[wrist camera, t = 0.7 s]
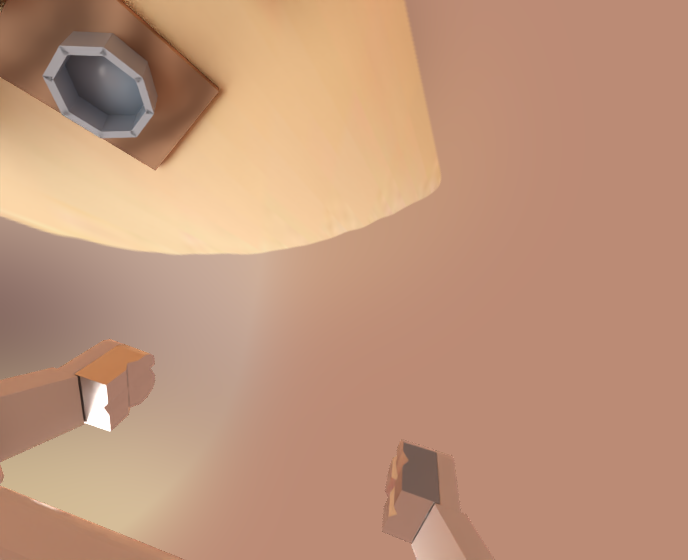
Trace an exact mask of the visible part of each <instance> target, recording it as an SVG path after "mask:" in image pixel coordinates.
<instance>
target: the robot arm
mask: <svg viewBox="0 0 688 560" xmlns="http://www.w3.org/2000/svg"><path fill="white" fill-rule="evenodd" d="M154 364H155V361H154V356H153V355H151V354H149V353H147V352H144V351H141V350H139V349H136V348H133V347H130V346H128V345H125V344H122V343H119V342H116V341H113V340H111V339H108V340H103V341H102V342H100V343H98V344H97V345H95V346H93V347H92V348H90V349H89V350H87V351H85V352H84V353H82V354H81V355H79V356H77V357H76V358H74V359H72V360H71V361H69V362H68V363H66V364H64V365H63V366H61V367H59V368H58V369H56V368H48V369H44V370H40V371H36V372H31V373H27V374H23V375H19V376H15V377H10V378H6V379H2V380H0V462H2V461H4V460H6V459H8V458H11V457H13V456H15V455H17V454H19V453H22V452H24V451H26V450H28V449H31V448H33V447H35V446H37V445H40V444H42V443H44V442H46V441H48V440H50V439H53V438H55V437H57V436H59V435H62V434H64V433H66V432H68V431H71V430H73V429H75V428H77V427H79V426H81V425H84V423H87V424H90V425H93V426H96V427H99V428H102V429H105V430H108V431H112V430H113V429H114V428H115V427H116V426H117V425H118V424H119V423H120V422H121V421H122V420H124V419H125V418H126V417H127V416H128V415H129V410H130V407H133V406H136V405H139V404H141V403H142V402H143V401H144V400H145V399H146V398H147V397H148V395H149V394H150V392H151V390H152V389H153V386H154V382H155V375H154V373H153V371H152V370H151V367H152V366H153V365H154ZM3 478H4V475H3V472H2V468H1V465H0V483H1V482H2V481H3ZM385 492H386V494H387V496H388V499H387V501H386V503H385V506H384V512H383V524H382V532H384V533H387V534H389V535H392V536H394V537H396V538H399V539H402V540H404V541H407V542H409V543H411V544H412V548H413V551H414V554H415V556H416V559H417V560H495V559H494V557H493V556H492V554H491V553H490V551H489V549H488V548H487V546H486V545H485V543H484V541H483V540H482V538H481V537H480V535H479V534H478V532H477V530H476V529H475V527H474V526H473V524H472V523H471V521H470V519H469V518H468V516H467V515H466V514H464V513H461V509H460V501H459V493H458V485H457V478H456V470H455V463H454V458H453V456H452V455H449V454H445V453H443V452H440V451H436V450H434V449H430V448H428V447H425V446H421V445H419V444H416V443H412V442H409V441H406V440H403V439H402V440H401V441H400V443H399V445H398V447H397V456H395V457H393V459H392V461H391V464H390V467H389V471H388V475H387V481H386V489H385ZM0 560H185V559H182V558H180V557H177V556H175V555H172V554H170V553H167V552H165V551H162V550H160V549H157V548H155V547H152V546H150V545H147V544H145V543H142V542H140V541H137V540H135V539H132V538H130V537H127V536H125V535H122V534H119V533H117V532H115V531H112V530H110V529H107V528H105V527H102V526H100V525H97V524H95V523H92V522H90V521H87V520H85V519H82V518H80V517H77V516H75V515H72V514H70V513H67V512H65V511H62V510H60V509H57V508H55V507H52V506H50V505H47V504H45V503H42V502H40V501H37V500H35V499H32V498H30V497H27V496H25V495H22V494H20V493H17V492H15V491H12V490H10V489H7V488H5V487H2V486H0Z"/></svg>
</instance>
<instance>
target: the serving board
mask: <svg viewBox="0 0 688 560" xmlns="http://www.w3.org/2000/svg"><path fill="white" fill-rule="evenodd" d="M73 31H78V32H99V33H113V34H115V35H116V36H117V37H118V38H119V39H121V40H122V41H123V42H124V43H126V44H127V45H128V46H129V47H130V48H132V49H133V50H134V51H135V52H136V53H138V54H139V55H140V56H141V57H143V58H144V59H145V60H146V61H147V62H148V65H149V68H150V71H151V75H152V78H153V82H154V85H155V89H156V92H157V95H158V97H157V102H156V107H155V111H154V115H153V116H152V117H151V119H150V120H149V121H148V123H147V124H146V125H145V127H144V128H143V129H142V131H141V132H140V133H139V135H138V136H137V137H127V138H103V139H104V140H106V141H108V142H109V143H111V144H112V145H114V146H116V147H117V148H119V149H121V150H122V151H124V152H126V153H127V154H129V155H131V156H132V157H134V158H136V159H137V160H139V161H141V162H142V163H144V164H146V165H147V166H149V167H150V168H152V169H154V170H155V171H156V169H157V168H158V167H159V166H160V164H161V163H162V162H163V161H164V159H165V158H166V157H167V156H168V154H169V153H170V152H171V151H172V149H173V148H174V147H175V146H176V144H177V143H178V142H179V141H180V139H181V138H182V137H183V136H184V134H185V133H186V132H187V131H188V129H189V128H190V127H191V126H192V124H193V123H194V122H195V121H196V119H197V118H198V117H199V116H200V115H201V113H202V112H203V111H204V110H205V108H206V107H207V106H208V105H209V103H210V102H211V101H212V100H213V98H214V97H215V96H216V95H217V93H218V92H219V89H218V87H217V86H216V85H215V84H214V83H212V82H211V81H210V80H209V79H208V78H207V77H206V76H205V75H204V74H202V73H201V72H200V71H199V70H198V69H197V68H196V67H195V66H194V65H192V64H191V63H190V62H189V61H188V60H187V59H186V58H185V57H184V56H182V55H181V54H180V53H179V52H178V51H177V50H176V49H175V48H174V47H172V46H171V45H170V44H169V43H168V42H167V41H166V40H165V39H164V38H162V37H161V36H160V35H159V34H158V33H157V32H156V31H155V30H154V29H152V28H151V27H150V26H149V25H148V24H147V23H146V22H145V21H144V20H143V19H141V18H140V17H139V16H138V15H137V14H136V13H135V12H134V11H133V10H131V9H130V8H129V7H128V6H127V5H126V4H125V3H124V2H123V1H121V0H7V1H6V3H5V5H4V7H3V9H2V11H1V14H0V77H2V78H3V79H5V80H7V81H8V82H10V83H12V84H13V85H15V86H17V87H18V88H20V89H22V90H23V91H25V92H27V93H28V94H30V95H31V96H33V97H35V98H36V99H38V100H40V101H41V102H43V103H45V104H46V105H48V106H50V107H51V108H53V109H55V110H56V111H58V112H60V110H59V108H58V106H57V104H56V102H55V100H54V98H53V96H52V94H51V92H50V90H49V88H48V86H47V84H46V82H45V80H44V78H43V74H44V72H45V71H46V69H47V67H48V65H49V63H50V62H51V60H52V58H53V56H54V54H55V53H56V51H57V49H58V47H59V45H60V44H61V43H62V42H63V41H64V40H65V39H66V38H67V37H68V36H69V35H70V34H71V33H72V32H73ZM60 113H61V112H60Z"/></svg>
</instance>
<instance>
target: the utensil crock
mask: <svg viewBox="0 0 688 560" xmlns="http://www.w3.org/2000/svg"><path fill="white" fill-rule="evenodd" d="M43 78H44V80H45V82H46V84H47V86H48V88H49V90H50V92H51V94H52V96H53V98H54V100H55V102H56V104H57V106H58V108H59V110H60V112H61V114H62V115H63V116H65V117H67V118H68V119H70V120H72V121H73V122H75V123H76V124H78V125H80V126H81V127H83V128H85V129H86V130H88V131H90V132H91V133H93V134H95V135H96V136H98V137H100V138H127V137H137V136H138V135H139V133H140V132H141V131H142V129H143V128H144V127H145V125H146V124H147V123H148V121H149V120H150V119H151V117H152V116H153V115H154V111H155V107H156V102H157V97H158V95H157V92H156V89H155V85H154V82H153V78H152V75H151V71H150V68H149V65H148V62H147V61H146V60H145V59H144V58H143V57H141V56H140V55H139V54H138V53H136V52H135V51H134V50H133V49H132V48H130V47H129V46H128V45H127V44H126V43H124V42H123V41H122V40H121V39H119V38H118V37H117V36H116V35H115V34H113V33H99V32H78V31H73V32H72V33H71V34H70V35H69V36H68V37H67V38H66V39H65V40H64V41H63V42H62V43H61V44H60V45H59V47H58V49H57V51H56V53H55V54H54V56H53V58H52V60H51V62H50V63H49V65H48V67H47V69H46V71H45V72H44V74H43Z"/></svg>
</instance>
